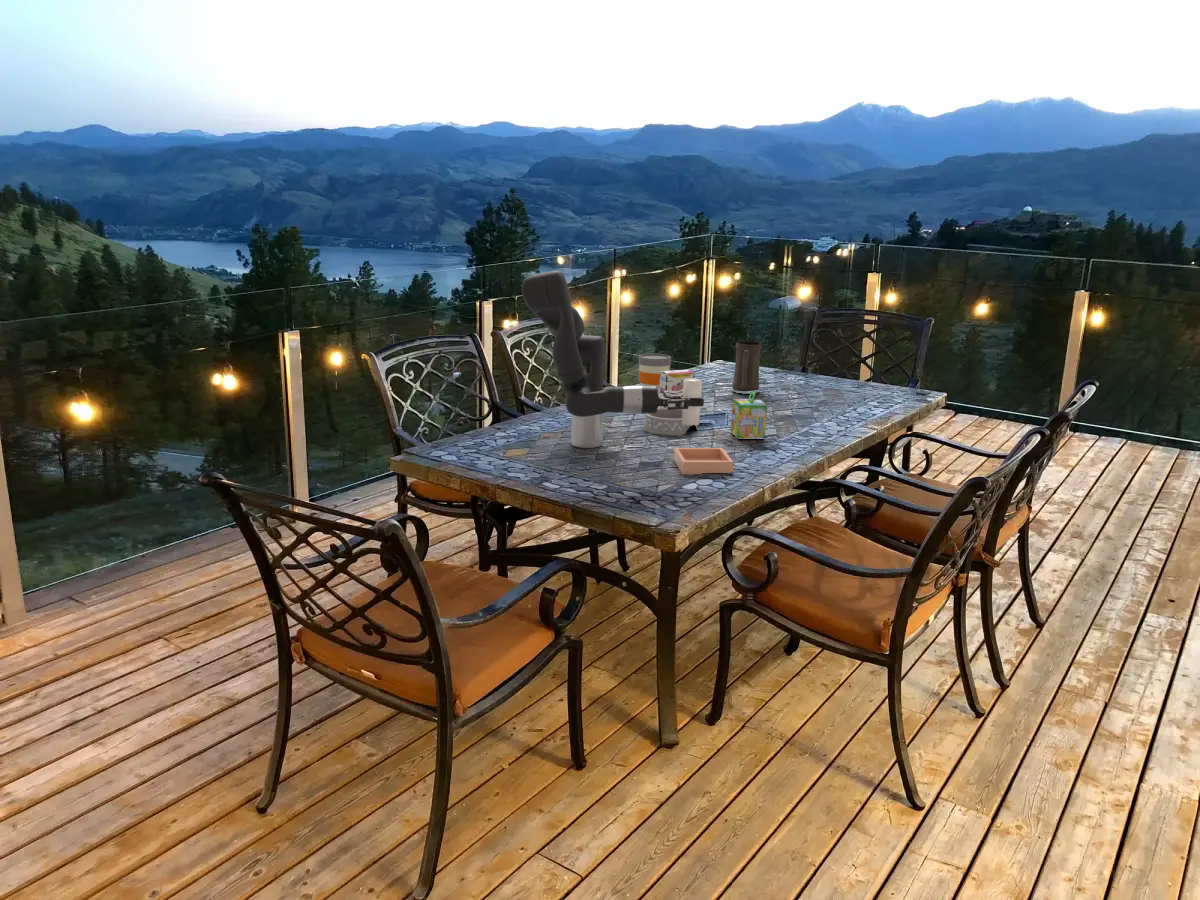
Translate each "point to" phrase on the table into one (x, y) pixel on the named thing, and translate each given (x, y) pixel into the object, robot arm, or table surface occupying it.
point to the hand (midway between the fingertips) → (701, 400)
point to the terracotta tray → (702, 460)
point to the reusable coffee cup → (652, 368)
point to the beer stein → (747, 366)
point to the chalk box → (748, 417)
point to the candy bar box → (673, 380)
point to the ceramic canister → (692, 391)
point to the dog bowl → (665, 422)
